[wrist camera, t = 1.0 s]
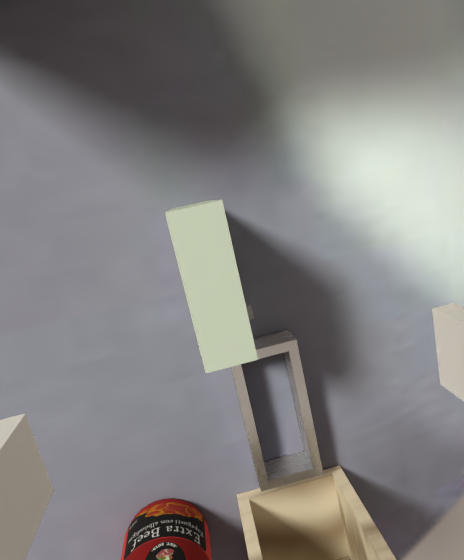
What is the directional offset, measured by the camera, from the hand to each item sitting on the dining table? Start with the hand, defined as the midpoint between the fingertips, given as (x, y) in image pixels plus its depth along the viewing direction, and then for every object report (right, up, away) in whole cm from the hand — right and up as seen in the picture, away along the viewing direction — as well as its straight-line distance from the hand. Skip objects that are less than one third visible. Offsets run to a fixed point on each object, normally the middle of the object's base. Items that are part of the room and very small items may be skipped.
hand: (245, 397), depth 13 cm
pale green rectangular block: (-3, +5, +21) cm, 22 cm away
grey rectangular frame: (+3, -7, +24) cm, 25 cm away
